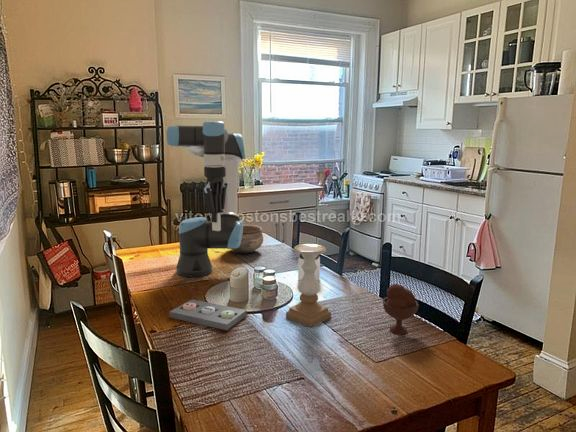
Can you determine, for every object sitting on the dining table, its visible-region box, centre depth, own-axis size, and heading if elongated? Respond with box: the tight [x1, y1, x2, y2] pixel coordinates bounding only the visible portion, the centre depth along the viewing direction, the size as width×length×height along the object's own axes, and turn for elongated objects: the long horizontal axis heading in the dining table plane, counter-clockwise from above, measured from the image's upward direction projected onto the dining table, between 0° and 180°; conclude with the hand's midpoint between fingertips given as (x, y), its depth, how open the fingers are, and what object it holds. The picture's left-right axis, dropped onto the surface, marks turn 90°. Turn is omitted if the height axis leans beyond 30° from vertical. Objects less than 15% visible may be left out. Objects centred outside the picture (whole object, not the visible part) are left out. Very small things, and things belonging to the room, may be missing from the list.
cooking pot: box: [230, 224, 264, 255], centre depth 222 cm, size 25×19×12 cm
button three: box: [201, 306, 215, 315], centre depth 147 cm, size 4×4×3 cm
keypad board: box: [169, 298, 247, 331], centre depth 147 cm, size 22×12×2 cm, turn 65°
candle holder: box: [285, 243, 332, 328], centre depth 145 cm, size 11×11×24 cm
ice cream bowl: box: [382, 283, 420, 336], centre depth 137 cm, size 11×11×15 cm
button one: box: [221, 310, 235, 319], centre depth 144 cm, size 4×4×3 cm
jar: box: [297, 253, 321, 281], centre depth 184 cm, size 9×8×12 cm
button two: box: [182, 302, 196, 311], centre depth 150 cm, size 4×4×3 cm
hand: (216, 230), depth 163 cm, fingers closed
